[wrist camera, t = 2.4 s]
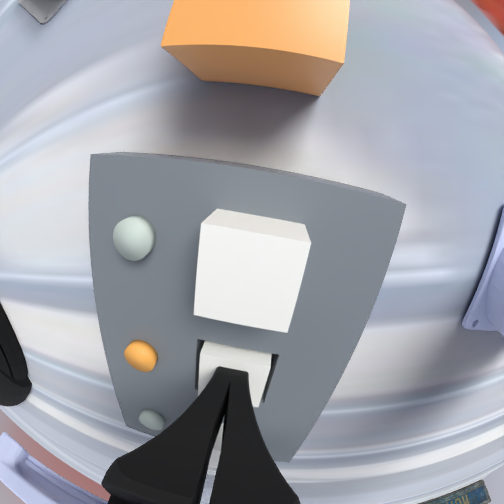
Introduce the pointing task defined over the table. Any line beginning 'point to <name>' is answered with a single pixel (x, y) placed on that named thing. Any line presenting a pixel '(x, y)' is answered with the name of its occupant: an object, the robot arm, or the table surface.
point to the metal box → (465, 495)
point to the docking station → (11, 367)
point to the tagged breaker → (235, 366)
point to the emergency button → (42, 8)
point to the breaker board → (174, 280)
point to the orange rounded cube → (260, 41)
